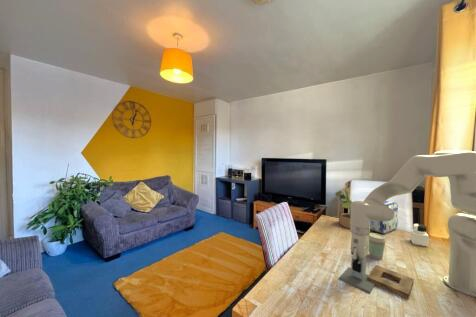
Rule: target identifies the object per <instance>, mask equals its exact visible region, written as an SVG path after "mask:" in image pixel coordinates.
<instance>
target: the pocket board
mask: <svg viewBox="0 0 476 317" xmlns="http://www.w3.org/2000/svg"><path fill="white" fill-rule="evenodd" d="M367 275H368V277H367V280H370V281H372V282H374V283H375V286H378V287H380V288H382V289H384V290H386V291H389V292H391V293H394V294H396V295H398V296H400V297H402V298H406V299H408V300H409V299H410V297H411V296H410V295H411V292H412V289H413V286H414V280H415V279H414V278H413V277H410V276H407V275H405V274H401V273H399V272H396V271H394V270H391V269H388V268H386V267H383V266H380V265H378V264H375V266H374V267H373V268H372V270H371V271H370V273H369V274H367ZM383 277H386V278H387V279H391V280H394V281H396V282H398V284H397V283H395V282H393V281H390V280H387V279H385V278H383Z"/></svg>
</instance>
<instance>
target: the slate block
mask: <svg viewBox="0 0 476 317" xmlns="http://www.w3.org/2000/svg"><path fill="white" fill-rule="evenodd" d="M357 255H358V254H357ZM358 256H359V255H358ZM356 258H357V259H359V258H358V257H356ZM350 261H351V264H350V268H351V274H352V275H354V276H356V277H359V278H361V279H363V278H364V276H365V275H366V274H367V273H366V272H367V256H365V257H364V258H363V259H361V261H360V264H361V272H360V273H359V272H357V271H354V270H353V269H352V267H353V259H352V258H351V260H350Z"/></svg>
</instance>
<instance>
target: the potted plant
mask: <svg viewBox="0 0 476 317" xmlns="http://www.w3.org/2000/svg"><path fill="white" fill-rule="evenodd" d="M345 192H346V193H345ZM334 195H335V196H336V197H339V196H341V195H343V197H344V198H341V199H340V201H341V202H343V203H342V204H341V207H343V208H344V209H348V210H349V211H348V213H346V212H345V213H341V214H340V216H339V218H338V222H339V225H341V226H342V227H344V228H346V229H349V230H350V222H351V203H352V202H353V201H352V200H351V198H350V194H349V189H348V188H346V191H344V190H342V189H339V191H337V192H336V193H335V194H334Z"/></svg>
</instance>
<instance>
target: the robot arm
mask: <svg viewBox="0 0 476 317" xmlns="http://www.w3.org/2000/svg"><path fill="white" fill-rule="evenodd" d="M427 177H433V178H444V177H445V178H448V181H449V182H448V183H449V191H450V202H451V205H452V207H453V208H455V209H456V210H458V211H460V213H454V214H452V215H450V216H449V217H448V220H447V228H448V231H449V239H450V241H449V256H448V258H449V259H448V260H449V261H448V275H445V276H443V280H442V281H443V282H444V284H445V285H447V286H448V287H449V288H451V289H453V290H455V291H457V292H459V293H461V294H464V295H466V296H469V297H474V298H476V151H472V150H440V151H436V152H433V153H432V154H431V155H430V154H429V155H428V154H426V155H425V154H420V155H414V156H412V157H410V158H409V159H407V161H406V162H405V163H404V164H403V166H401V168H400V169H399V170H398V171H397V172H396V173H395V175H393V177H392V178H391V179H390V180H388V181H385V182H383V184H380V185H379V186H377V187H375V189H373V190H372V191H370V193H369V194H368V195H367V196H366V197H365V199H364V200H363V201H361V200H354V201H352V203H351V222H350V229H349V230H350V232H351V240H350V254H351V260H352V259H353V267H352V269H353V270H354V271H357V272H359V273H360V272H361V264H360V261H361V259H363V258H364V257H367V255H369V235H370V233H371V227H370V220H377V221H383V222H386V221H390V220H392V219H393V218H394V211H393V209H392V208H391V207H390V206H388V205H386V204H384V202H385V201H387V200H389V199H390V198H392V197H396V196H400V195H401V196H402V195H407V194H410V193H412V192H414V190H415V189H416V188H417V187H418V186H419V185H420V184H421V182H422V181H423V180H424V179H425V178H427ZM461 212H463V213H461ZM357 254H358V255H359V256H358V255H357ZM356 257H358V258H359V259H357V258H356Z"/></svg>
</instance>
